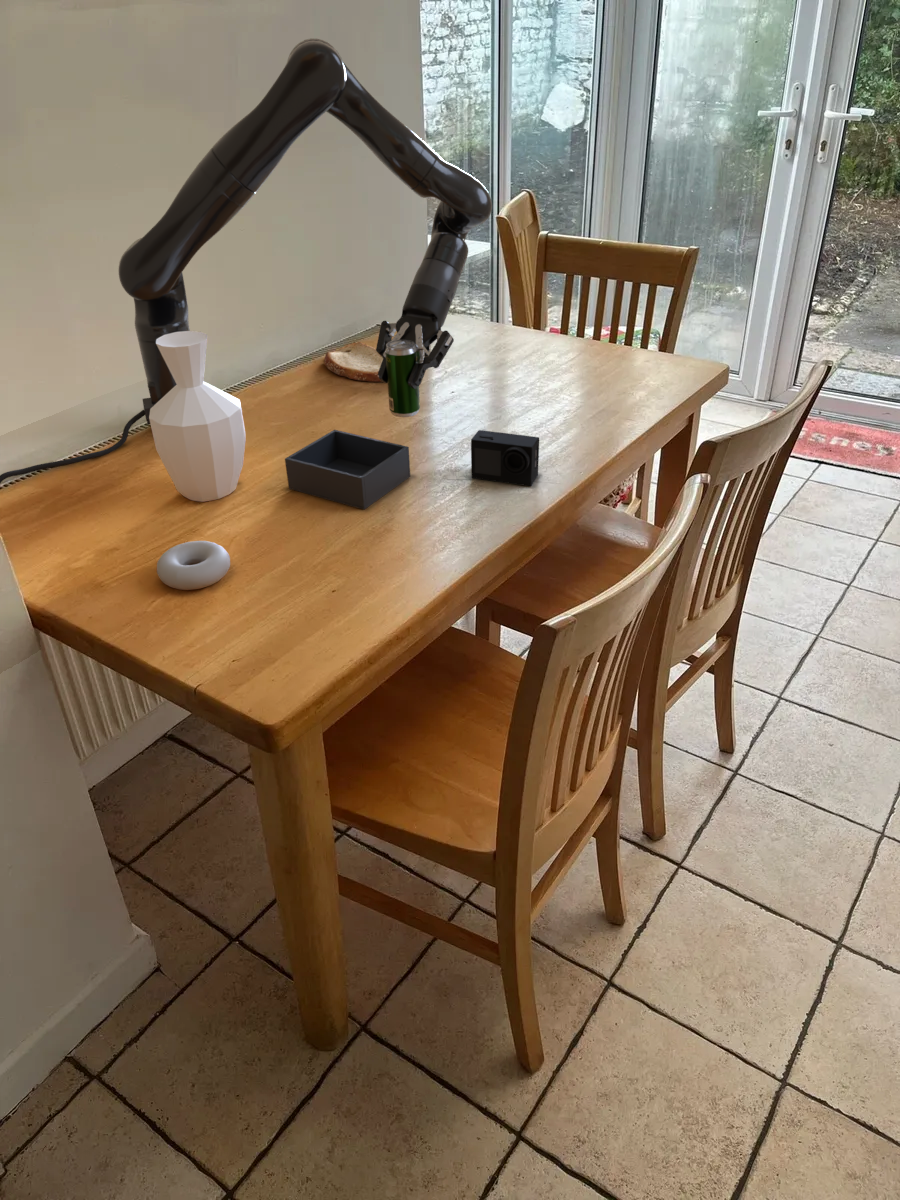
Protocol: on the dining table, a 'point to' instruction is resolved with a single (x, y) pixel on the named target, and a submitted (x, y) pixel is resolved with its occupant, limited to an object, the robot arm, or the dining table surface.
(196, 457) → the vase
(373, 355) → the bread slice
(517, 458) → the digital camera
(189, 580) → the donut
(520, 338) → the dining table surface
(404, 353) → the beer can
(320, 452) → the open rectangular tray
